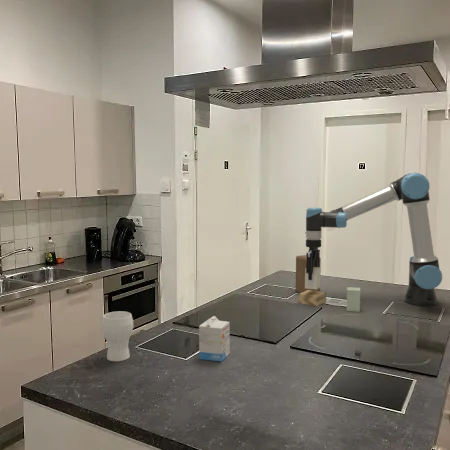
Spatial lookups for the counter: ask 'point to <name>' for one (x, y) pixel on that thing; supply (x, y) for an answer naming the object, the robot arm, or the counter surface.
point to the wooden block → (302, 274)
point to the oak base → (312, 297)
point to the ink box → (214, 340)
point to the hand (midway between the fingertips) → (312, 284)
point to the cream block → (316, 278)
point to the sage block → (353, 299)
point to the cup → (117, 334)
